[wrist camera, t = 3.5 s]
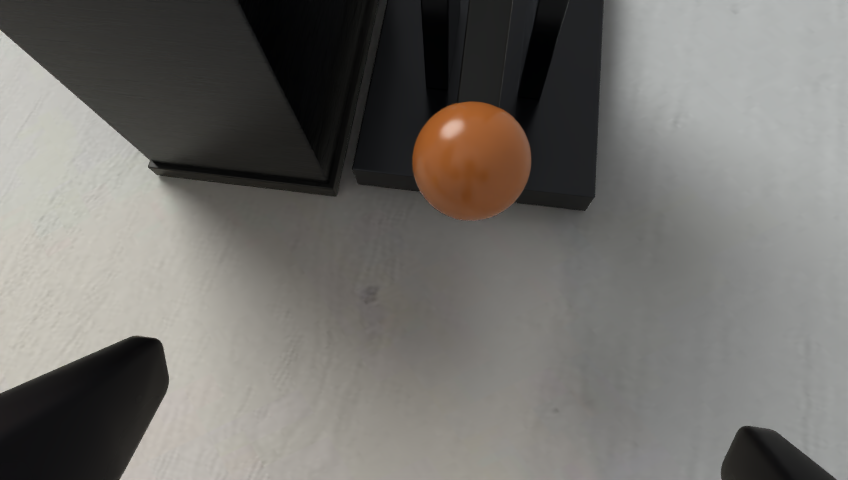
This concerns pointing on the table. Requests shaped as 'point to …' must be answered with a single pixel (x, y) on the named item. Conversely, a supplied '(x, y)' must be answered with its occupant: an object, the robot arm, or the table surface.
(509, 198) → the lever
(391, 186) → the lever bracket
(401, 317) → the table surface
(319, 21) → the toaster
